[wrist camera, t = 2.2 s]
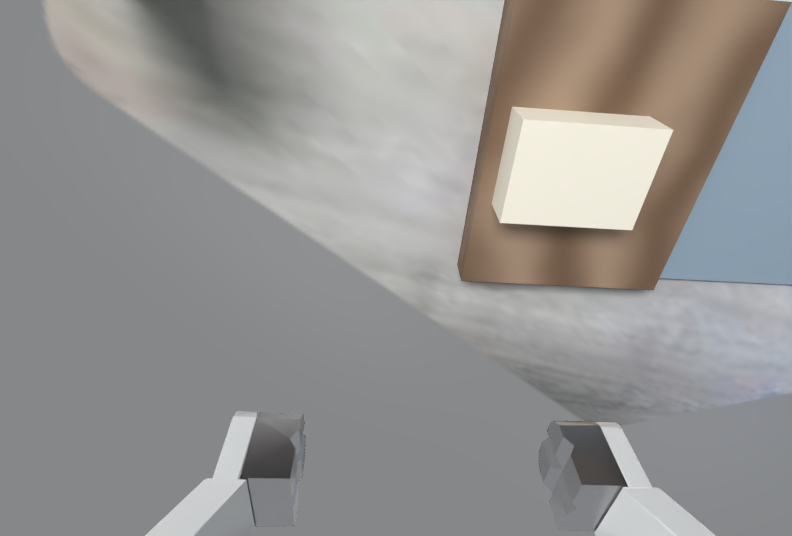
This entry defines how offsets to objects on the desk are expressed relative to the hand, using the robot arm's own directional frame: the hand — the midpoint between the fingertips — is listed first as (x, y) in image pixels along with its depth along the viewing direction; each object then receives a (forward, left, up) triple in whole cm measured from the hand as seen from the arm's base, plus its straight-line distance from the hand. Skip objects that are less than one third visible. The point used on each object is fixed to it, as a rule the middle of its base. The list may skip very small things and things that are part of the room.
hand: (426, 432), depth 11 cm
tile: (-10, 0, -19) cm, 22 cm away
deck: (-12, 0, -21) cm, 24 cm away
